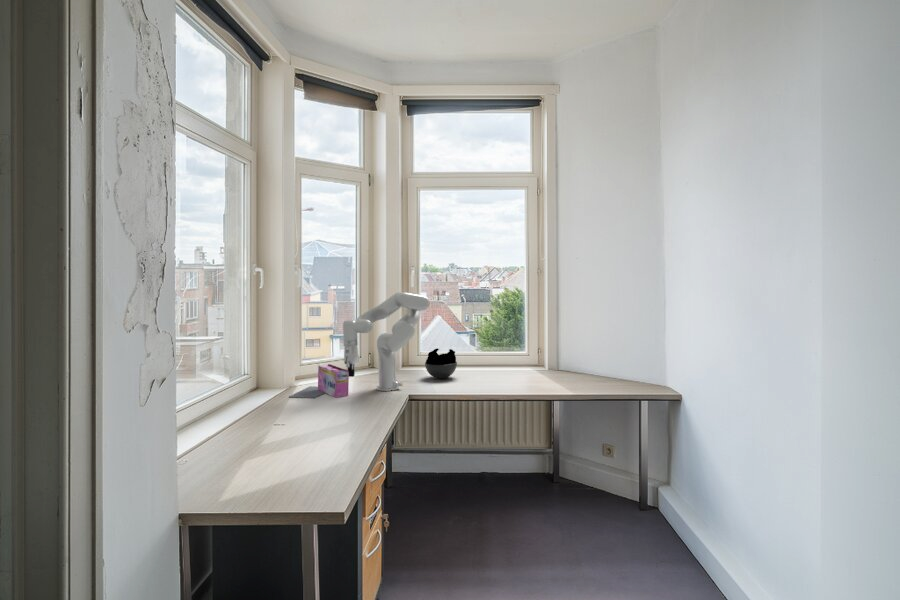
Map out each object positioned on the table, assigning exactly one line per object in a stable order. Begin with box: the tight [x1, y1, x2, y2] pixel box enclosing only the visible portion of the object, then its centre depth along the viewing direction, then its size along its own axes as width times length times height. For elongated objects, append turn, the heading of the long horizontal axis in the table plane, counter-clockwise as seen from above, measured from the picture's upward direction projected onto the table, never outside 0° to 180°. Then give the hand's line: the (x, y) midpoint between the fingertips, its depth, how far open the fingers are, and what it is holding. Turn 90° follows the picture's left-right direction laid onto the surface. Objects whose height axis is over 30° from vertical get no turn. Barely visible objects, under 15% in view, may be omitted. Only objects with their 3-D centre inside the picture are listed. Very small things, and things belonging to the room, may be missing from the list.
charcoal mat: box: [288, 385, 326, 399], centre depth 279 cm, size 15×25×1 cm, turn 170°
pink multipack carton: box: [317, 363, 350, 398], centre depth 277 cm, size 24×8×14 cm, turn 39°
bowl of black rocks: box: [424, 348, 458, 380], centre depth 313 cm, size 20×20×19 cm
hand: (351, 376), depth 275 cm, fingers closed
